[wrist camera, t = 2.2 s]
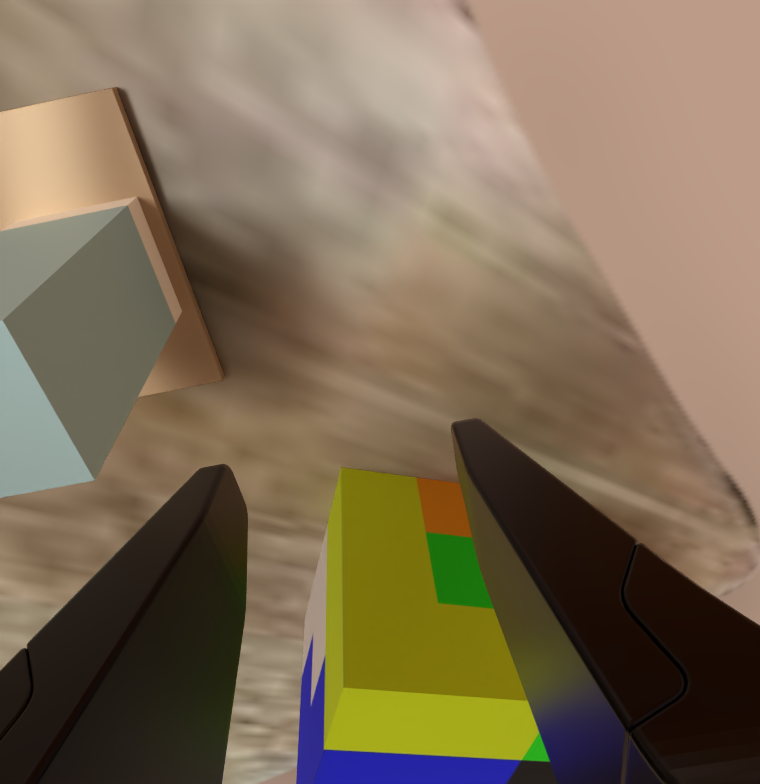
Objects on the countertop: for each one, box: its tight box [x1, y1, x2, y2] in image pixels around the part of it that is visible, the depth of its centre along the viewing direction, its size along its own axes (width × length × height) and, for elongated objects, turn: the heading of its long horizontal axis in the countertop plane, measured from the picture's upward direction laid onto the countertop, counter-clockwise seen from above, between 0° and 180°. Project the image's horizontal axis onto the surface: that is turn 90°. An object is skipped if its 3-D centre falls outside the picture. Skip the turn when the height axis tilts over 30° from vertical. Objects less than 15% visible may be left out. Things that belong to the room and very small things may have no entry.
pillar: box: [0, 197, 182, 498], centre depth 16 cm, size 4×4×9 cm
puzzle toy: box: [296, 467, 558, 784], centre depth 25 cm, size 10×10×10 cm
